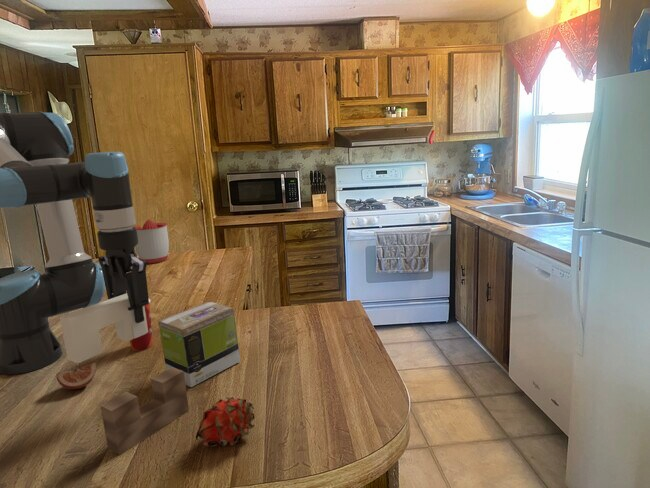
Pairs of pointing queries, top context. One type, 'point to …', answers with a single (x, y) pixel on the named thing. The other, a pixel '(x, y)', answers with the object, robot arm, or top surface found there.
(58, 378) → the fruit slice
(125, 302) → the cream slotted plate
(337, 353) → the top surface
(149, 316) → the paper cup
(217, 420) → the dragon fruit
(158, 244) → the citrus juicer
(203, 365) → the tea box
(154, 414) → the walnut slotted plate
